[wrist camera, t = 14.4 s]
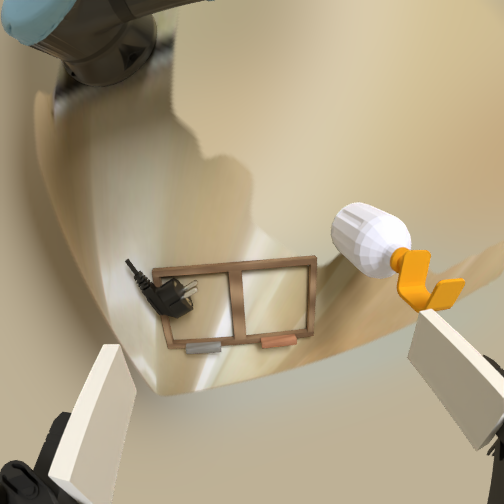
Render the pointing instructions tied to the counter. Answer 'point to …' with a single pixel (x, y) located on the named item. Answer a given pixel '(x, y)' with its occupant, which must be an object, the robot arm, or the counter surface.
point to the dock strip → (241, 305)
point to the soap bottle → (390, 255)
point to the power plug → (166, 294)
